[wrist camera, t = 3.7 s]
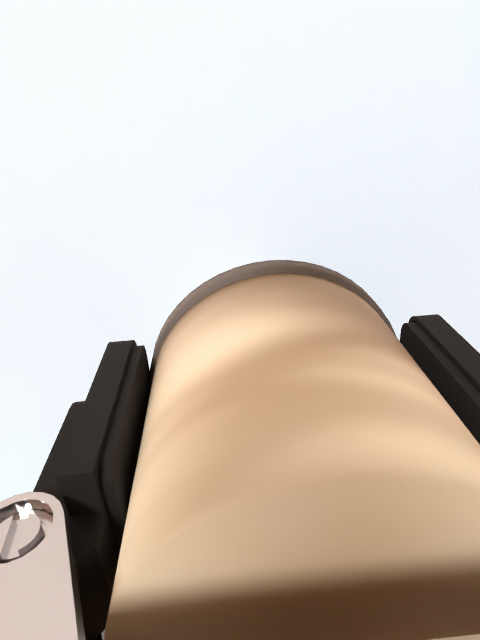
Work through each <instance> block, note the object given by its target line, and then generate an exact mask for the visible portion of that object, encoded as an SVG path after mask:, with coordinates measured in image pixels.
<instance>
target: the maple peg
mask: <svg viewBox="0 0 480 640" xmlns="http://www.w3.org/2000/svg"><path fill="white" fill-rule="evenodd" d="M150 381H151V392H150V397H149V402H148V407H147V413H146V418H145V423H144V428H143V434H142V439H141V444H140V449H139V455H138V460H137V465H136V470H135V476H134V481H133V486H132V491H131V496H130V502H129V507H128V512H127V517H126V523H125V528H124V533H123V538H122V544H121V549H120V554H119V559H118V565H117V570H116V575H115V580H114V586H113V591H112V596H111V601H110V606H109V612H108V617H107V622H106V627H105V633H104V640H430V639H439V638H448V637H458V636H467V635H476V634H480V444H479V443H478V442H477V440H476V439H475V438H474V437H473V435H472V434H471V433H470V431H469V430H468V429H467V428H466V426H465V425H464V424H463V422H462V421H461V420H460V419H459V417H458V416H457V415H456V413H455V412H454V411H453V410H452V408H451V407H450V406H449V404H448V403H447V402H446V401H445V399H444V398H443V397H442V395H441V394H440V393H439V392H438V390H437V389H436V388H435V386H434V385H433V384H432V382H431V381H430V380H429V379H428V377H427V376H426V375H425V373H424V372H423V371H422V370H421V368H420V367H419V366H418V364H417V363H416V362H415V361H414V359H413V358H412V357H411V355H410V354H409V353H408V352H407V350H406V349H405V348H404V346H403V345H402V344H401V343H400V341H399V340H398V339H397V337H396V335H395V333H394V330H393V328H392V326H391V324H390V322H389V320H388V319H387V318H386V316H385V315H384V313H383V312H382V310H381V309H380V308H379V306H378V305H377V304H376V303H375V301H374V300H373V299H372V298H371V297H370V296H369V295H368V294H367V293H366V292H365V291H364V290H363V289H362V288H361V287H359V286H358V285H357V284H356V283H354V282H353V281H352V280H350V279H348V278H347V277H345V276H343V275H341V274H340V273H338V272H335V271H333V270H330V269H328V268H325V267H323V266H319V265H315V264H311V263H307V262H300V261H291V260H271V261H263V262H256V263H251V264H247V265H243V266H240V267H236V268H233V269H231V270H228V271H226V272H223V273H221V274H219V275H217V276H215V277H213V278H211V279H210V280H208V281H206V282H204V283H203V284H201V285H200V286H199V287H197V288H196V289H195V290H193V291H192V292H191V293H190V294H189V295H187V296H186V297H185V298H184V299H183V300H182V301H181V302H180V303H179V304H178V305H177V307H176V308H175V309H174V311H173V312H172V313H171V315H170V316H169V317H168V319H167V320H166V322H165V324H164V326H163V328H162V329H161V331H160V334H159V336H158V339H157V342H156V344H155V349H154V353H153V358H152V363H151V368H150Z"/></svg>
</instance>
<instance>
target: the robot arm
mask: <svg viewBox="0 0 480 640" xmlns="http://www.w3.org/2000/svg"><path fill="white" fill-rule="evenodd" d="M400 343H401V344H402V345H403V346H404V348H405V349H406V350H407V352H408V353H409V354H410V355H411V357H412V358H413V359H414V361H415V362H416V363H417V364H418V366H419V367H420V368H421V370H422V371H423V372H424V373H425V375H426V376H427V377H428V379H429V380H430V381H431V382H432V384H433V385H434V386H435V388H436V389H437V390H438V392H439V393H440V394H441V395H442V397H443V398H444V399H445V401H446V402H447V403H448V404H449V406H450V407H451V408H452V410H453V411H454V412H455V413H456V415H457V416H458V417H459V419H460V420H461V421H462V422H463V424H464V425H465V426H466V428H467V429H468V430H469V431H470V433H471V434H472V435H473V437H474V438H475V439H476V440H477V442H478V443H479V444H480V353H478V352H477V351H476V350H475V349H474V348H473V347H472V346H471V345H470V344H469V343H468V342H467V341H466V340H465V339H464V338H463V337H462V336H461V335H460V334H459V333H458V332H456V331H455V330H454V329H453V328H452V327H451V326H450V325H449V324H448V323H447V322H446V321H445V320H444V319H443V318H442V317H441V316H439V315H438V314H437V315H424V316H412V317H411V318H410V320H409V323H404V324H403V325H402V328H401V336H400ZM150 392H151V381H150V371H149V365H148V360H147V354H146V349H145V347H144V346H137V345H136V342H135V341H134V340H130V341H118V342H109V343H108V345H107V348H106V350H105V353H104V355H103V358H102V360H101V363H100V365H99V368H98V370H97V373H96V375H95V378H94V380H93V383H92V385H91V388H90V390H89V393H88V395H87V398H86V400H85V401H82V402H75V403H73V404H72V405H71V407H70V409H69V411H68V413H67V416H66V418H65V420H64V422H63V425H62V427H61V429H60V432H59V434H58V436H57V438H56V441H55V443H54V445H53V448H52V450H51V452H50V454H49V457H48V459H47V461H46V464H45V466H44V468H43V470H42V473H41V475H40V477H39V480H38V482H37V484H36V486H35V489H34V491H33V492H28V493H23V494H19V495H15V496H13V497H10V498H8V499H6V500H4V501H1V502H0V640H104V633H105V627H106V622H107V617H108V612H109V606H110V601H111V596H112V591H113V586H114V580H115V575H116V570H117V565H118V559H119V554H120V549H121V544H122V538H123V533H124V528H125V523H126V517H127V512H128V507H129V502H130V496H131V491H132V486H133V481H134V476H135V470H136V465H137V460H138V455H139V449H140V444H141V439H142V434H143V428H144V423H145V418H146V413H147V407H148V402H149V397H150ZM430 640H480V634H476V635H467V636H458V637H448V638H439V639H430Z"/></svg>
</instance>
